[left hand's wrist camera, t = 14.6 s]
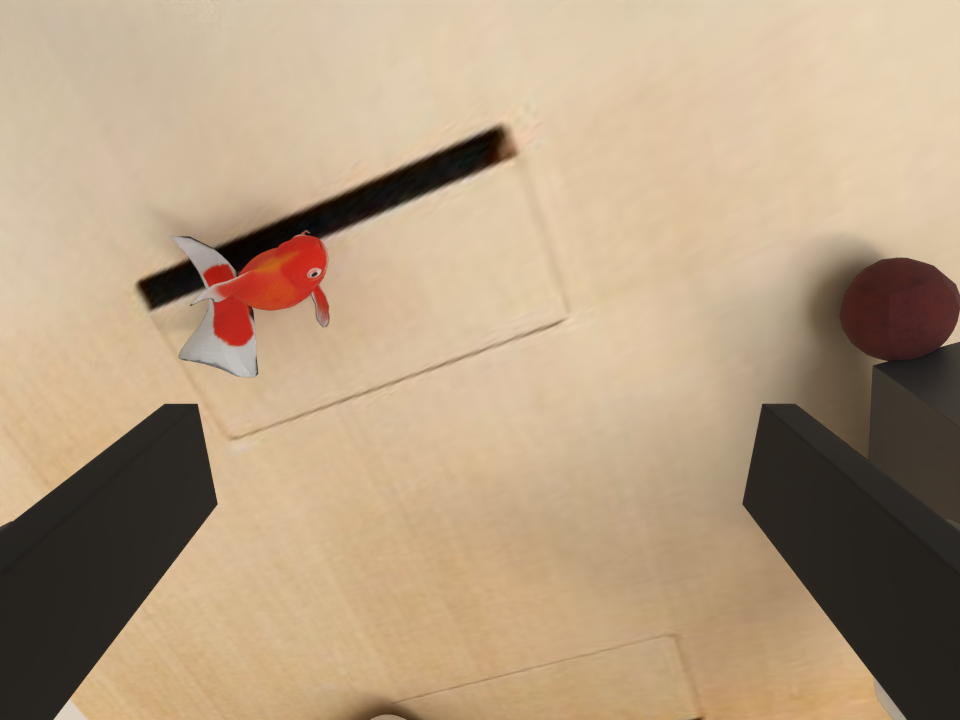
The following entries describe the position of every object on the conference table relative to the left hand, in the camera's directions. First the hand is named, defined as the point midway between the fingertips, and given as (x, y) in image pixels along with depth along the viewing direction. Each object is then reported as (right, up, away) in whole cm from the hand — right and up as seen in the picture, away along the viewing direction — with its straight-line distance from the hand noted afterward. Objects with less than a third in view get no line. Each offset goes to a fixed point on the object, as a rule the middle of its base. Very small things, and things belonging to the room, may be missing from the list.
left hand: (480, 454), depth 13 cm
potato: (+31, +7, +31) cm, 45 cm away
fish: (-17, +8, +31) cm, 36 cm away
